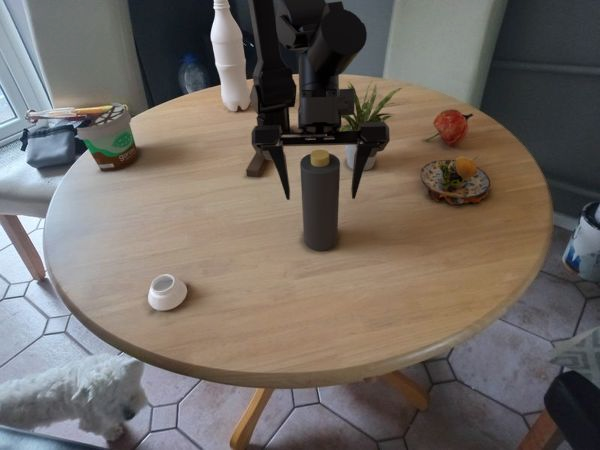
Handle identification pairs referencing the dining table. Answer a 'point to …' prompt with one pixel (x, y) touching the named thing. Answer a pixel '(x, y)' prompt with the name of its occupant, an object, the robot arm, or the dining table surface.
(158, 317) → the dining table surface
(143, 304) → the dining table surface
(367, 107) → the house plant
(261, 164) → the walnut stick
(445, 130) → the pomegranate
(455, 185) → the multicoloured piece
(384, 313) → the dining table surface
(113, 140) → the food container
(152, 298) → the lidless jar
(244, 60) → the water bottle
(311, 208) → the grey bottle yellow cap
